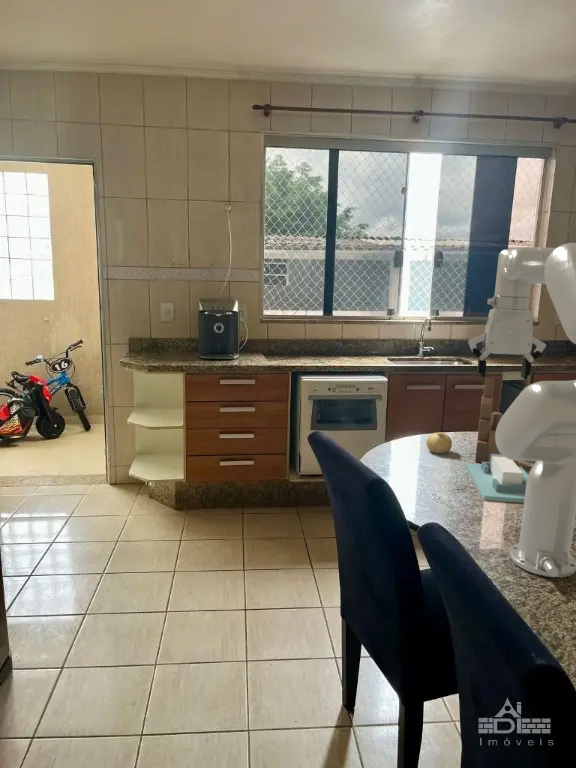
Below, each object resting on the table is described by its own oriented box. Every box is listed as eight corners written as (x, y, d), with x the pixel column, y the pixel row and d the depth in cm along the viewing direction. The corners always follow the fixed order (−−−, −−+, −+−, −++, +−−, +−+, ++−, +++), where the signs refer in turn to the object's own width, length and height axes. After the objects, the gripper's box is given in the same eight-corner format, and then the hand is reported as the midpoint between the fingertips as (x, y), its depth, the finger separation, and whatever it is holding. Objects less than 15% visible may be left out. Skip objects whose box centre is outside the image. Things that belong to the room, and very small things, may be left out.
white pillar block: (521, 491, 149) (523, 472, 148) (501, 489, 149) (503, 471, 148) (507, 471, 162) (509, 455, 161) (488, 470, 163) (490, 453, 162)
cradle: (548, 504, 144) (550, 492, 143) (483, 500, 145) (485, 488, 145) (520, 470, 167) (522, 460, 166) (465, 467, 169) (466, 457, 168)
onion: (420, 449, 183) (422, 429, 182) (439, 446, 187) (440, 426, 186) (437, 457, 177) (439, 435, 175) (456, 454, 180) (458, 432, 179)
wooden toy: (498, 465, 171) (507, 384, 166) (475, 462, 173) (483, 382, 168) (498, 450, 185) (506, 375, 180) (476, 447, 188) (484, 373, 182)
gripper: (475, 304, 127) (468, 378, 131) (555, 306, 125) (546, 382, 129) (469, 301, 134) (462, 372, 138) (544, 304, 132) (535, 376, 136)
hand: (502, 377), depth 133 cm, fingers open, 9 cm apart
